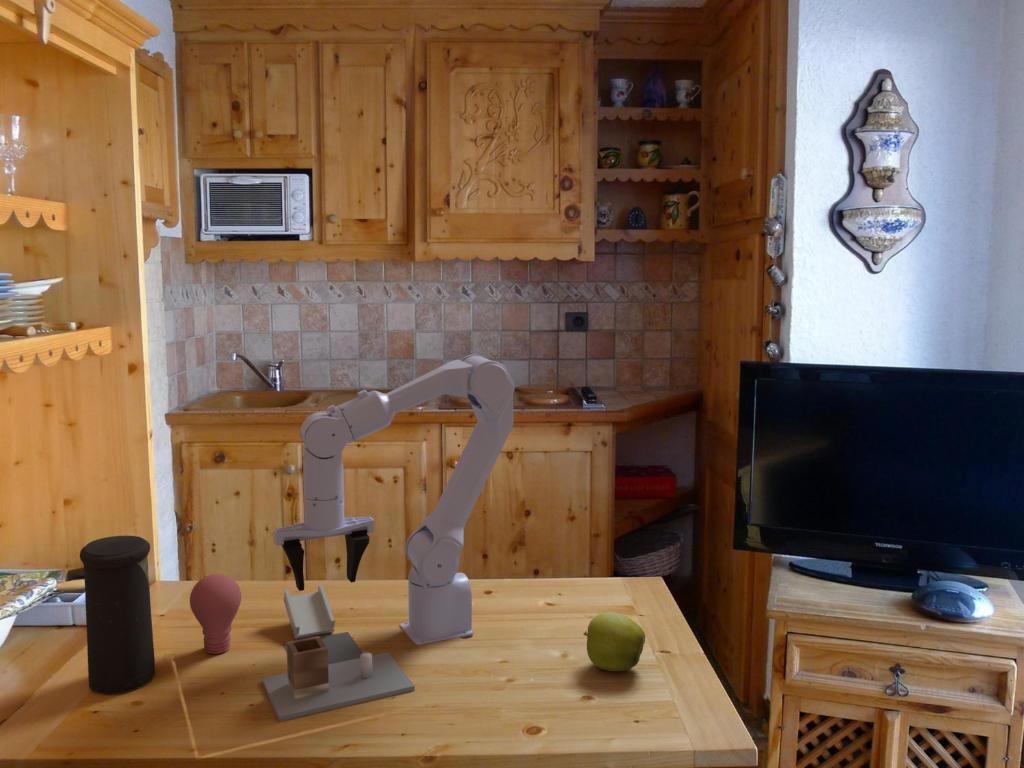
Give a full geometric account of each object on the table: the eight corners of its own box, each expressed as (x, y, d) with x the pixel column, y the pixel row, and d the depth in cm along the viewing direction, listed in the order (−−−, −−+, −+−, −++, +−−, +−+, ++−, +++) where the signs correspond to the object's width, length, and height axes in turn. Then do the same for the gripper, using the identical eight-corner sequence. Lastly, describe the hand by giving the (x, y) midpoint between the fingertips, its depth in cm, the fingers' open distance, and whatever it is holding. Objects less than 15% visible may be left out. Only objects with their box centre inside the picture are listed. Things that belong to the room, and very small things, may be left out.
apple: (588, 651, 130) (589, 600, 128) (648, 661, 127) (650, 609, 125) (574, 674, 122) (575, 621, 121) (637, 686, 119) (639, 631, 118)
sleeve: (320, 676, 119) (319, 635, 118) (328, 691, 115) (327, 648, 114) (287, 683, 117) (286, 641, 116) (295, 698, 113) (294, 655, 112)
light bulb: (227, 666, 124) (224, 586, 122) (182, 661, 125) (178, 582, 123) (252, 644, 130) (249, 568, 129) (209, 640, 132) (205, 564, 130)
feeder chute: (321, 613, 141) (320, 581, 140) (335, 633, 133) (334, 599, 132) (284, 620, 138) (283, 587, 137) (296, 641, 131) (295, 606, 130)
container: (171, 671, 122) (164, 534, 119) (123, 701, 114) (114, 555, 111) (122, 661, 125) (114, 527, 122) (71, 690, 116) (62, 547, 113)
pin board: (388, 658, 126) (387, 632, 126) (414, 692, 117) (414, 664, 116) (262, 684, 118) (261, 657, 118) (279, 723, 109) (278, 694, 108)
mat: (347, 634, 134) (347, 631, 134) (367, 661, 126) (367, 658, 125) (282, 646, 130) (282, 644, 130) (298, 675, 121) (298, 673, 121)
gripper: (364, 483, 133) (365, 567, 135) (267, 494, 127) (270, 582, 129) (378, 494, 127) (379, 583, 129) (278, 506, 120) (281, 599, 123)
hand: (326, 584), depth 128 cm, fingers open, 7 cm apart
